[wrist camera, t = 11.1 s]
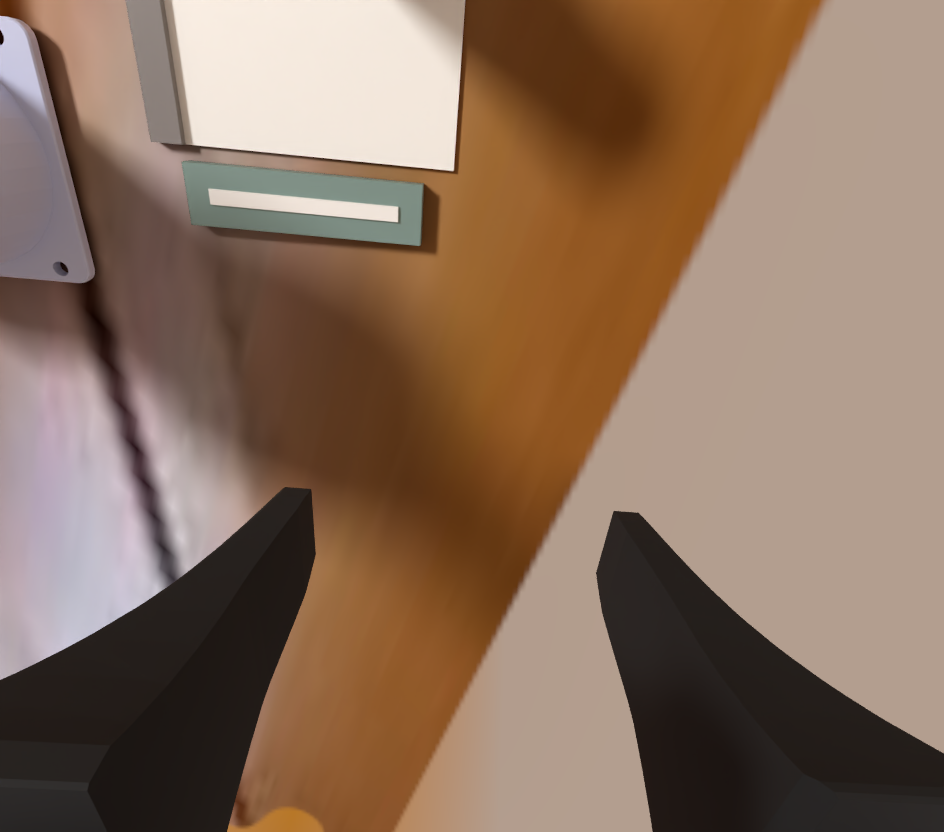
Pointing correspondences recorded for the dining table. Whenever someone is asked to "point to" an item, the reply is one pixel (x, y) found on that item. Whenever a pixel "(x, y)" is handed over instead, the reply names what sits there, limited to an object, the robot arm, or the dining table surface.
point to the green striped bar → (304, 203)
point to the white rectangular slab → (304, 76)
